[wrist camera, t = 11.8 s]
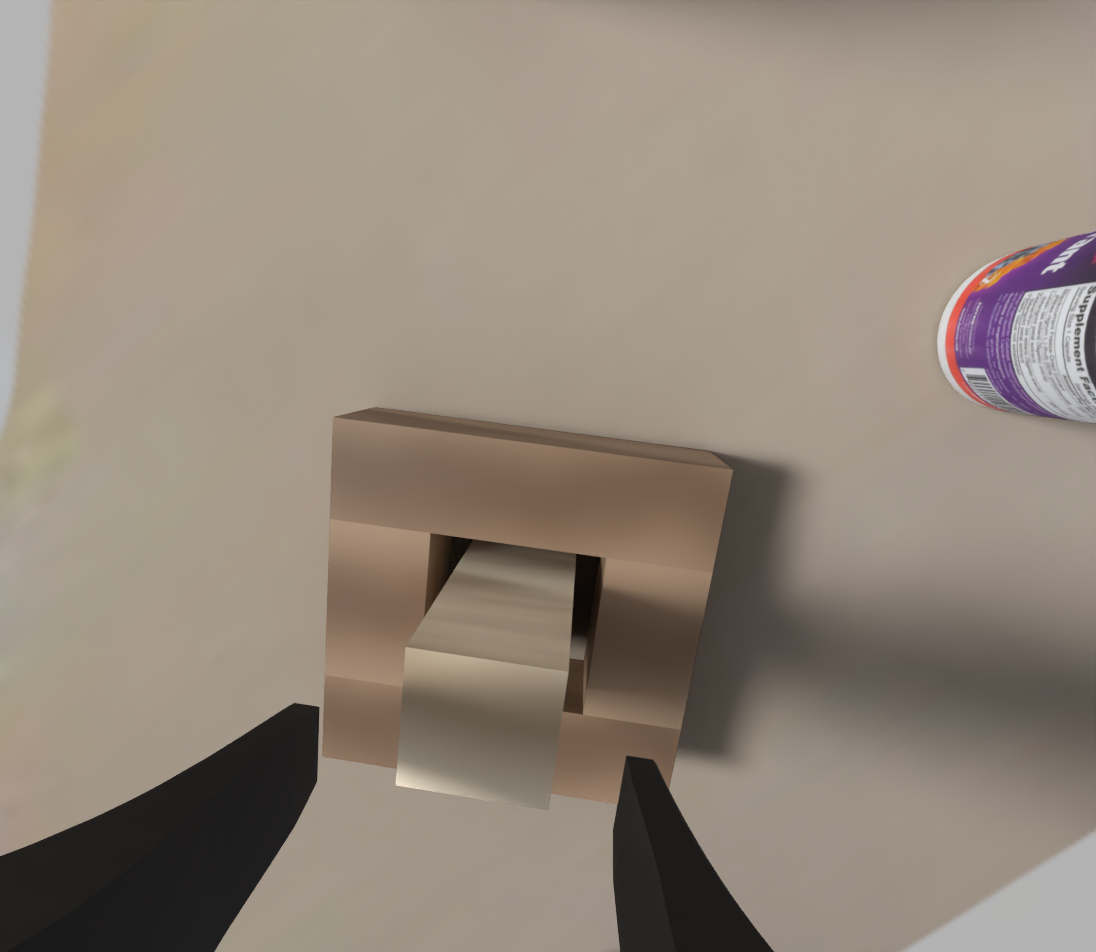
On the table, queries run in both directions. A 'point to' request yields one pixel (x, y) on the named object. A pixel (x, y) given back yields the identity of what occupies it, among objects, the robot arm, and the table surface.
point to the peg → (490, 677)
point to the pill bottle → (1027, 332)
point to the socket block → (533, 521)
